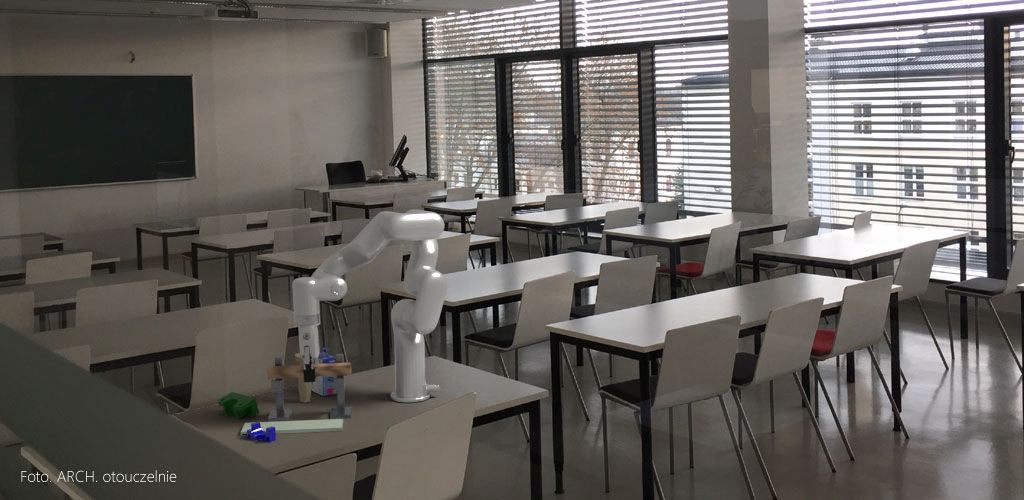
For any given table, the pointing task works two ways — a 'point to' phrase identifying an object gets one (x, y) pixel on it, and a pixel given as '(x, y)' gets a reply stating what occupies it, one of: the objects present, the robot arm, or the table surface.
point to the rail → (297, 371)
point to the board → (300, 426)
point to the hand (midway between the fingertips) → (310, 379)
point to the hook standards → (284, 415)
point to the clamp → (239, 405)
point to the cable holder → (261, 433)
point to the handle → (303, 384)
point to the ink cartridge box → (324, 383)
